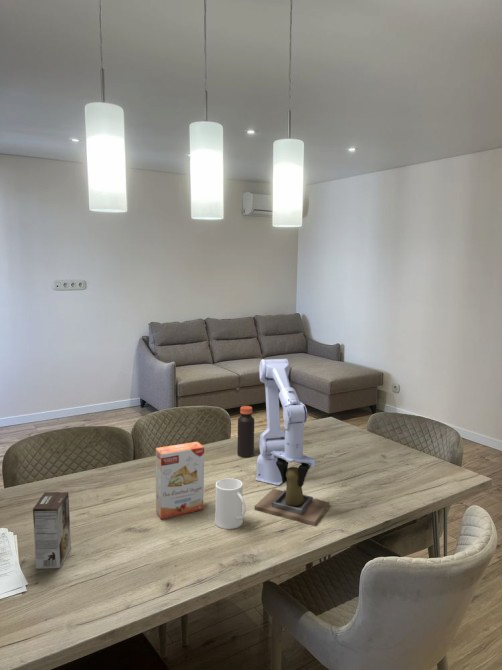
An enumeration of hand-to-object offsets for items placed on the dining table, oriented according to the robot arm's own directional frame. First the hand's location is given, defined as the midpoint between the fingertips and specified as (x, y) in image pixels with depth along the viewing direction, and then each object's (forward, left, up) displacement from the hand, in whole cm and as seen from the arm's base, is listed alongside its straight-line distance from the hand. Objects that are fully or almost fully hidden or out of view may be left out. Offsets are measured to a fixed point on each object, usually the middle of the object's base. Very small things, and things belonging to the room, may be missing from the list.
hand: (292, 483), depth 150 cm
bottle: (-34, +32, -8) cm, 47 cm away
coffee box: (-44, -55, -8) cm, 71 cm away
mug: (-12, -18, -8) cm, 23 cm away
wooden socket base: (0, 0, -8) cm, 8 cm away
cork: (0, +1, -6) cm, 6 cm away
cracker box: (-30, -19, -8) cm, 36 cm away
